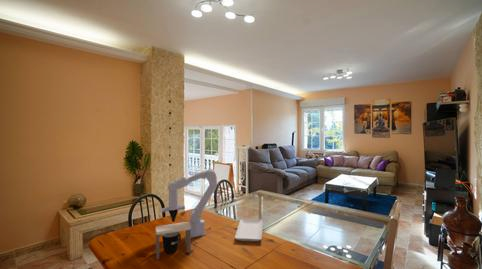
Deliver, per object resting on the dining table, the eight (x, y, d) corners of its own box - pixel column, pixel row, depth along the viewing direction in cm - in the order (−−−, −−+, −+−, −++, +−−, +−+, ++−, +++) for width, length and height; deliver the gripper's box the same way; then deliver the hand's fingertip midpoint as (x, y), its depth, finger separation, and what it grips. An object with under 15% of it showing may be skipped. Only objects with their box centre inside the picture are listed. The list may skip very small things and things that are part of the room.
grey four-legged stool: (188, 246, 134) (188, 221, 134) (190, 252, 127) (190, 226, 127) (155, 252, 127) (155, 226, 127) (156, 259, 120) (156, 232, 120)
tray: (234, 243, 138) (234, 237, 138) (240, 222, 169) (240, 218, 169) (261, 244, 136) (261, 239, 136) (263, 224, 167) (263, 219, 167)
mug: (170, 257, 122) (170, 238, 122) (158, 252, 127) (158, 234, 127) (186, 247, 133) (186, 230, 133) (175, 243, 137) (175, 226, 137)
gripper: (183, 197, 154) (183, 217, 154) (160, 200, 148) (160, 221, 148) (185, 200, 147) (185, 221, 147) (161, 203, 141) (161, 225, 142)
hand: (173, 221), depth 147 cm, fingers closed
